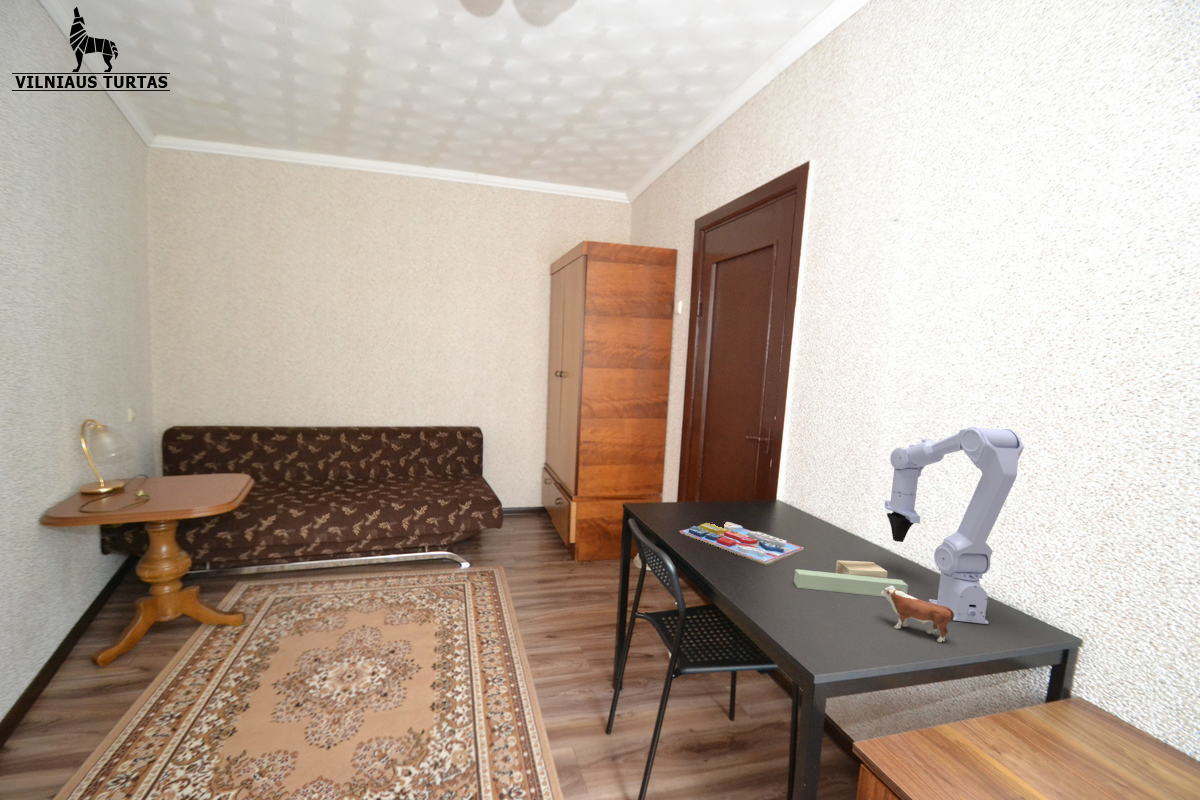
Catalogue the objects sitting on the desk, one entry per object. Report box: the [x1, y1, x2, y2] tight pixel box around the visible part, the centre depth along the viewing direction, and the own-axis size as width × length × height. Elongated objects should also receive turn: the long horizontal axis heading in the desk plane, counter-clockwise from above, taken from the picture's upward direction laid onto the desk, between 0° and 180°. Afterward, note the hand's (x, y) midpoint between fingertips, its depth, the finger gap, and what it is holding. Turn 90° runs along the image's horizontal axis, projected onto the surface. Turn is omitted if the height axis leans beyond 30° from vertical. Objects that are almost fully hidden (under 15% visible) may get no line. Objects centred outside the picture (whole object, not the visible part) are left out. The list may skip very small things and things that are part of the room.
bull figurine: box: [881, 586, 954, 644], centre depth 105 cm, size 4×13×8 cm, turn 51°
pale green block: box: [793, 568, 909, 598], centre depth 123 cm, size 3×26×4 cm, turn 85°
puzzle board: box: [679, 521, 805, 567], centre depth 155 cm, size 30×23×3 cm
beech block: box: [835, 560, 888, 579], centre depth 128 cm, size 6×10×5 cm, turn 93°
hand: (898, 540), depth 136 cm, fingers closed
